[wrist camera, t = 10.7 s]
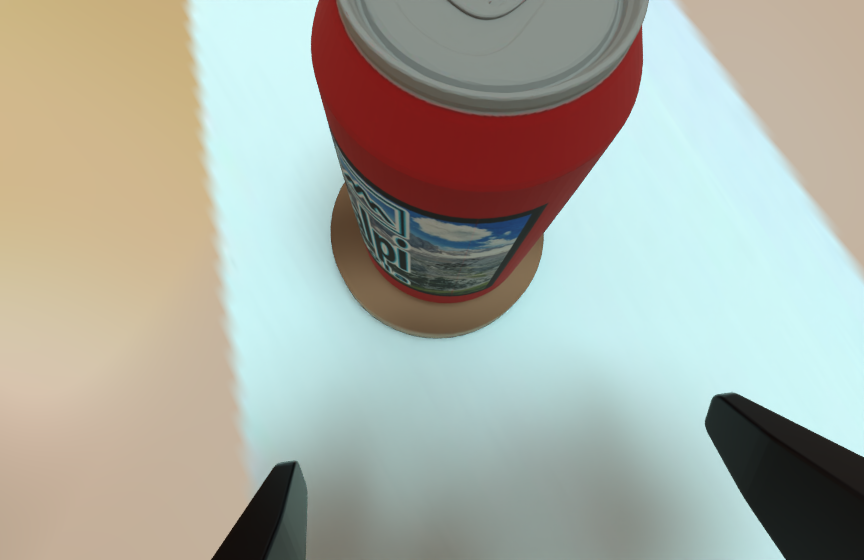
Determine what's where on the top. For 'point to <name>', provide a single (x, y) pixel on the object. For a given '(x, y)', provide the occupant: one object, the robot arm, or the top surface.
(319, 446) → the top surface
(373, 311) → the coaster
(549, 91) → the beverage can
